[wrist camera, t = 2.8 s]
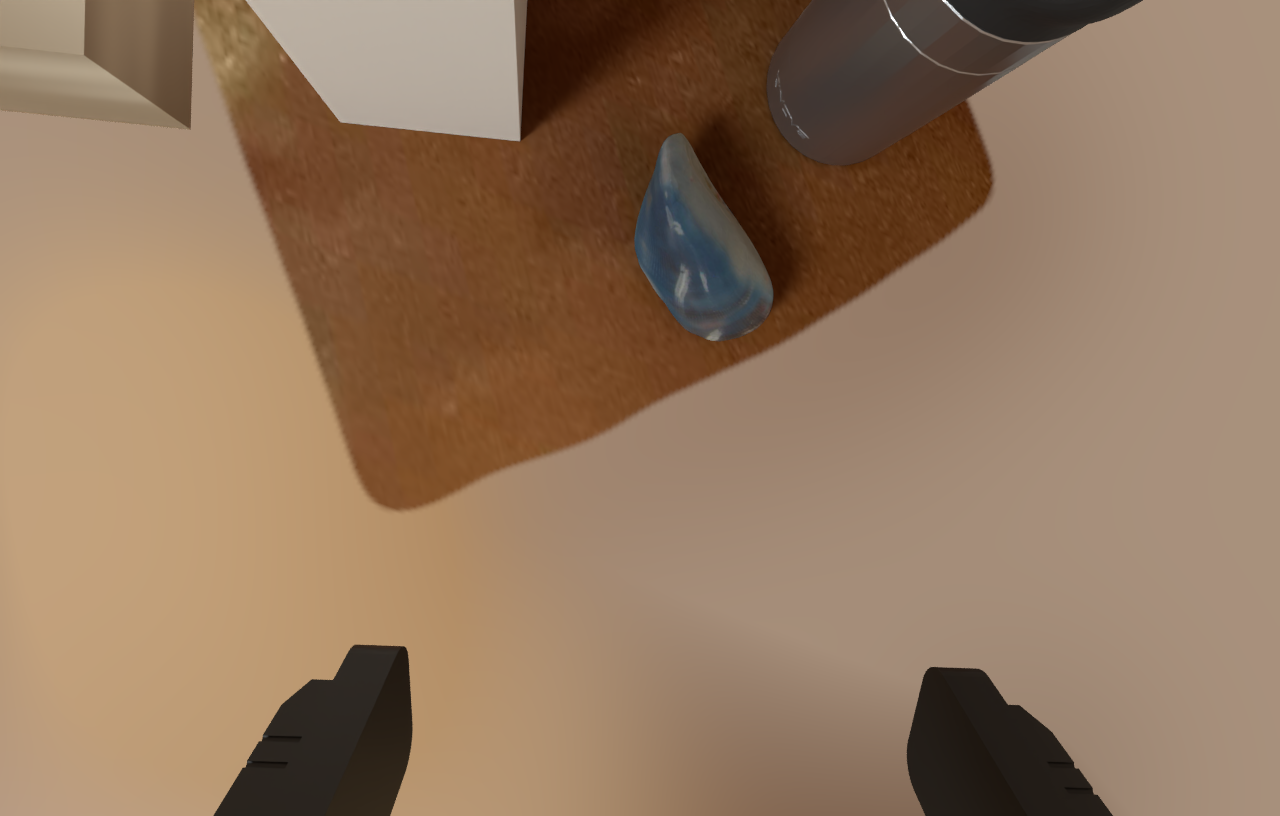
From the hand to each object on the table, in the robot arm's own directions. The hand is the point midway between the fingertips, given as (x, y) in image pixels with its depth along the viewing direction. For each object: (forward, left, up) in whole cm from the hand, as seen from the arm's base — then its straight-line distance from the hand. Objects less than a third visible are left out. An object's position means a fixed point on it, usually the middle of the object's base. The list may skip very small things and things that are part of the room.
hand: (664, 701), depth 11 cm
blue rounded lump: (-13, -7, -33) cm, 36 cm away
